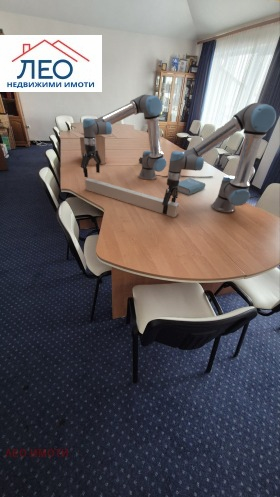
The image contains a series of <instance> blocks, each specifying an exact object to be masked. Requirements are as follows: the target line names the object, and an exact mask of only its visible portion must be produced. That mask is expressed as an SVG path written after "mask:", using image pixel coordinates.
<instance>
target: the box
mask: <svg viewBox="0 0 280 497" xmlns="http://www.w3.org/2000/svg"><path fill="white" fill-rule="evenodd" d="M70 133H71V134H72V135H74V136H75V137H77V138H79V144H80V153H81V159H82V158H83V153H86V150H85V143H84V130H77V132H76V131H70ZM113 137H114V136H113V135H111V134H108V135H95V143H96V144H95V145H96V150H98V154H99V156H100V159H101V162H100V163H101V164H100V165H106V163H107V162H106V158H107V157H106V138H113ZM96 164H97V163H96V161H95V160H94V159H93V158H92V159H90V160H89V163H88V165H87V166H96Z"/></svg>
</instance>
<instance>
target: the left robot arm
mask: <svg viewBox="0 0 280 497" xmlns="http://www.w3.org/2000/svg"><path fill="white" fill-rule="evenodd" d="M162 109H163V103H162V100H161V98H160V97H159V96H157V95H153V94H142V95H139V96H137V97H135V98H133V99H131V100H130V101H129V103H127V104H125V105H123V106H121V107H118V108H116V109H114V110H112V111H111V112H108V113H106V114H104V115H102V116H100V117H97V118H89V117H87V118H83V119H82V129H83V130H82V131H84V143H85V150H86V153H83V158H82V157H81V163H80V168H81V169H82V170H83V176H84V178H86V179H88V178H89V175H88V174H89V173H88V166H89V165H88V163H89V160H90V159H92V158H93V159H94V160H95V161H96V163H97V164H96V165H95V171H96V173H97V174H100V173H101V171H100V170H101V169H100V168H101V166H100V165H102V164H101V163H100V162H101V159H100V156H99V154H98V150H96V145H95V144H96V143H95V135H108V134H109V135H111V134H112V132H113V126H112V125H114V124H116V123H118V122H120V121H123V120H125V119H126V118H129V117H131V116H133V115H138V114H143V118H144V120H145V121H146V126H147V133H148V141H149V150H144V151H143V152H142V157H143V158H142V157H141V158H142V163H141V169H140V172H139V178H140V179H142V180H146V181H154V180H156V178H157V177H162V178H168V175H161V174H160V175H159V174H156V172H158V173H161V172H163V170H165V168H166V167H167V159H166V158H165V157H164V152H163V151H162V145H161V136H160V124H159V118H160V117H161V111H162ZM180 178H195V176H193V175H192V176H191V175H181V176H180ZM197 178H202V179H203V178H206V176H197ZM208 178H213V175H211V176H208Z"/></svg>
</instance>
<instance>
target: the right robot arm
mask: <svg viewBox="0 0 280 497" xmlns="http://www.w3.org/2000/svg"><path fill="white" fill-rule="evenodd" d="M276 119H277V112H276V109H275V107H273V106H272V105H270V104H268V103H260V102H252V103H249V104H248V105H246V106H245V107H243V108H242V109H241V110H239V111H238V112H237V113H235V114H234V115H232V116H231V119H230V120H229V121H227V122H226V123H224V124H223V125H222V126H220V127H219V128H218V129H216V130H215V131H213V132H212V133H210V135H208V136H207V137H205V138H204V139H202V140H201V141H199V142H198V143H197V144H195V145H194V146H193V147H192V148H190V149H186V150H184V151H181V150H173V151H171V153H170V158H169V163H168V164H169V165H168V172H167V176H168V177H167V178H166V185H167V186H168V187H167V188H166V189H165V193H164V197H163V199H164V200H163V203H162V205H164V206H163V213H161V214H163V215H165V216H168V215H167V209H168V202H169V201H171V202H175V203H176V200H177V199H178V198H179V197H178V196H179V191H178V185H179V182H180V181H181V176H182V174H181V173H182V170H183V171H184V170H185V171H202V170H203V168H204V165H205V164H204V162H205V159H204V157H203V156H204V155H205V154H207V153H209V152H210V151H211V150H213V149H214V148H216V147H217V146H218V145H220V144H221V143H223V142H224V141H226V140H228V138H230V137H232V136H233V135H234V134H236V133H238V132H239V133H240V132H241V131H243V135H244V140H243V144H242V148H241V150H240V154H239V158H238V162H237V166H236V169H235V173H234V175H225V176H223V178H222V180H221V183H220V187H219V190H218V195H217V197H216V198H215V200H214V201H213V202H212V208H213V209H214V210H215V211H217V212H220V213H224V214H230V213H233V212H234V211H235V206H236V207H240V206H242V205H244V204H246V203H247V202H248V201H249V200H250V199H253V198H257V199H258V198H259V197H258V196H257V195H253V196H251V194H250V191H249V189H250V186H251V182H250V181H249V180H250V177H251V174H252V171H253V168H254V165H255V161H256V159H257V156H258V153H259V149H260V146H261V143H262V140H263V138H264V137H266V136H267V134H268V131H269V130H270V129H271V128H272V127H273V126H274V124H275V123H276Z"/></svg>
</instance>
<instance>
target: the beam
mask: <svg viewBox="0 0 280 497" xmlns="http://www.w3.org/2000/svg"><path fill="white" fill-rule="evenodd" d="M84 186H85V190H86V191H88V192H93V193H95V194H98V195H102V196H105V197H108V198H112V199H115V200H117V201H120V202H124V203H127V204H130V205H134V206H137V207H140V208H143V209H146V210H150V211H153V212H156V213H159V214H162V213H163V206H164V205H162V203H163V200H164V198H160V197H157V196H154V195H150V194H146V193H143V192H139V191H137V190H132V189H129V188H125V187H122V186H119V185H115V184H112V183H108V182H105V181H101V180H97V179H95V178H91V177H88V178H86V179H84ZM179 206H180V203H178V202H176V201H175V202H171V200H169V202H168V209H167V215H166V216H169V217H172V218H176V217H177V216H178V212H179Z"/></svg>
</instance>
